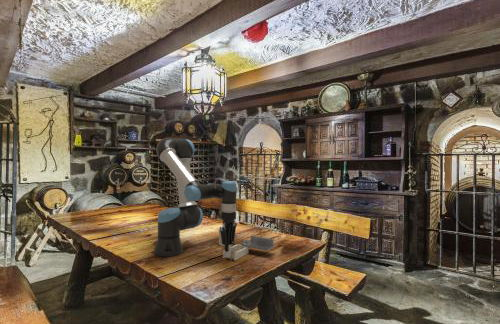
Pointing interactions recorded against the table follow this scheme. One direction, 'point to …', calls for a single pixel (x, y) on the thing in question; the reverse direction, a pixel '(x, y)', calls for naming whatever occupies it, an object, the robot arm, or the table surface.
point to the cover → (259, 243)
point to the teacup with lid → (221, 239)
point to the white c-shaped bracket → (240, 253)
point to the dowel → (233, 254)
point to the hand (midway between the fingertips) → (227, 257)
